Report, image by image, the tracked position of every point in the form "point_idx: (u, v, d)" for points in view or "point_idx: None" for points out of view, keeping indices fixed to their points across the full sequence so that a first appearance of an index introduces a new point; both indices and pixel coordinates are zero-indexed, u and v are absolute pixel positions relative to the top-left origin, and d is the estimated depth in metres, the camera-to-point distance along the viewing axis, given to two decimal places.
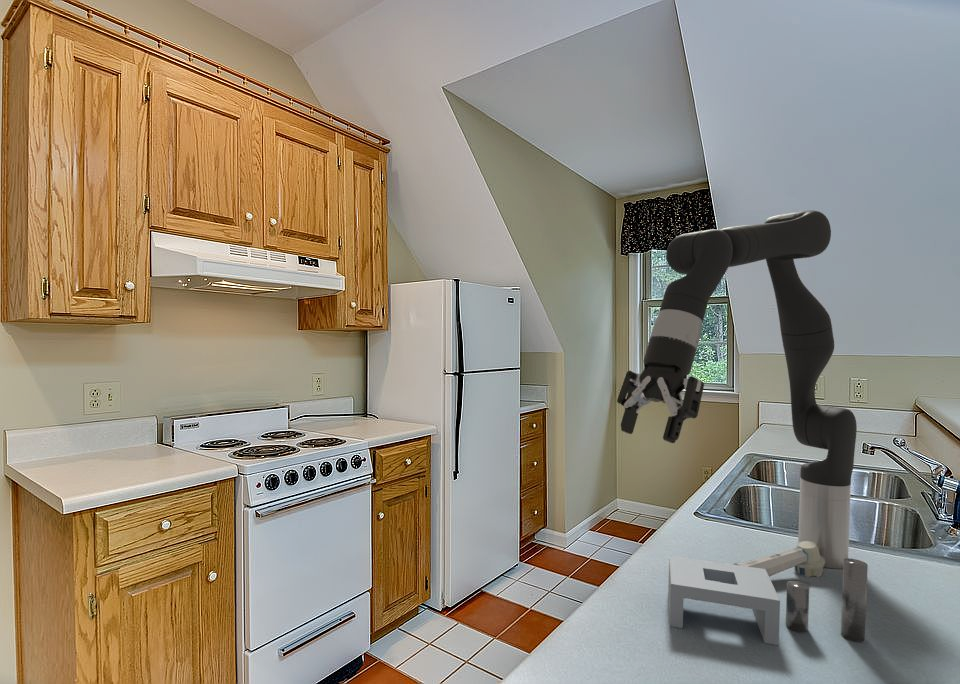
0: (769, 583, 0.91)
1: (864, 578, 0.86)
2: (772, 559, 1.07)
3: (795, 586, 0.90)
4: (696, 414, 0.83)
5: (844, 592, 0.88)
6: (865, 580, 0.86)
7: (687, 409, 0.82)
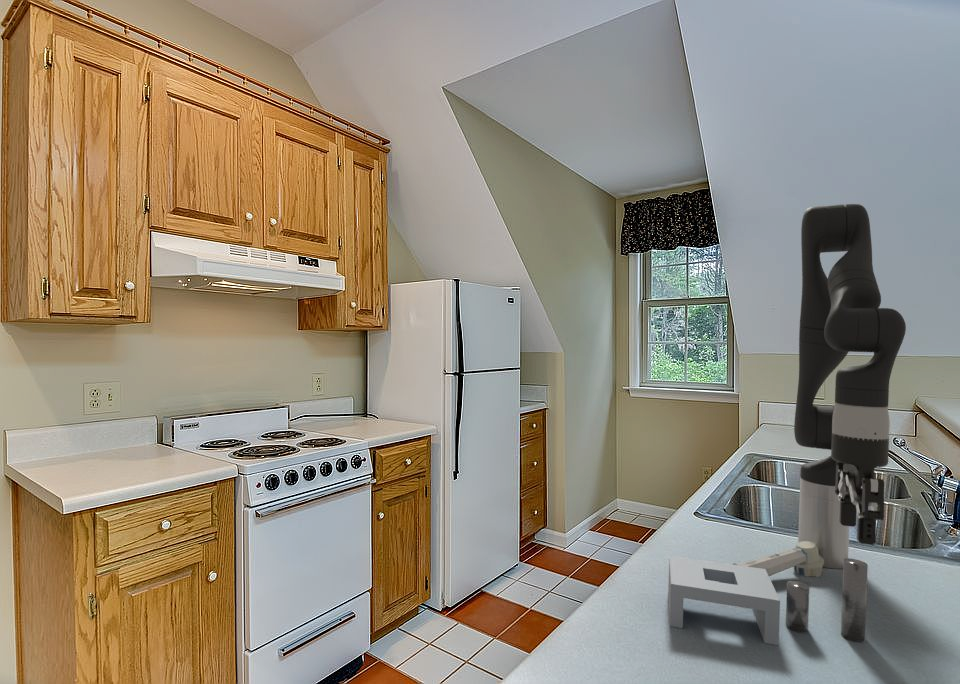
0: (769, 583, 0.91)
1: (864, 578, 0.86)
2: (772, 559, 1.07)
3: (795, 586, 0.90)
4: (881, 516, 0.81)
5: (844, 592, 0.88)
6: (865, 580, 0.86)
7: (864, 513, 0.81)
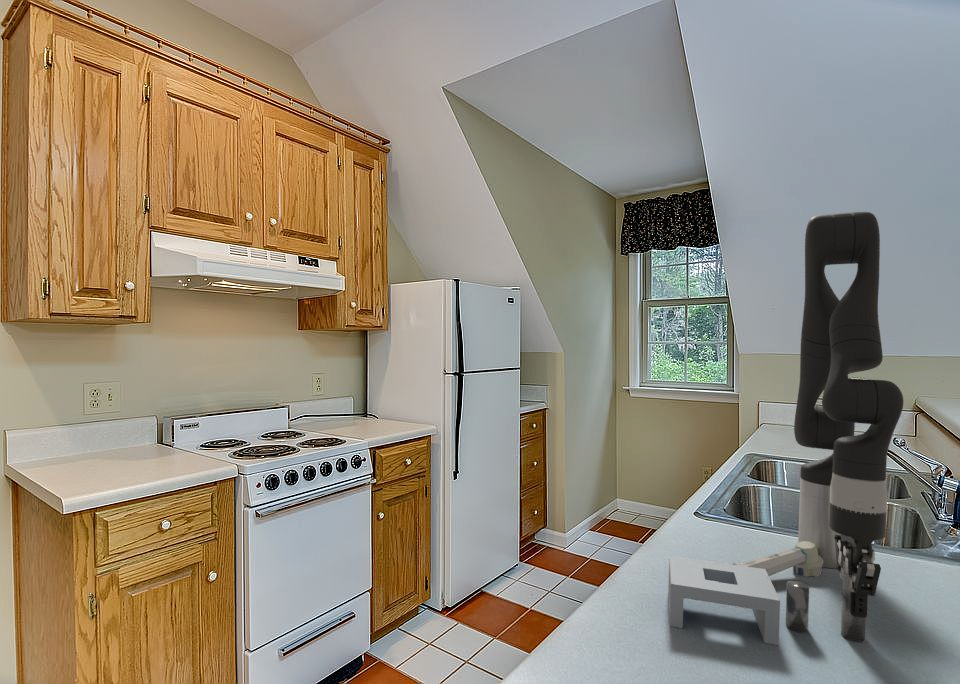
0: (769, 583, 0.91)
1: None
2: (771, 559, 1.07)
3: (795, 586, 0.90)
4: (872, 594, 0.83)
5: (844, 592, 0.88)
6: None
7: (856, 589, 0.84)
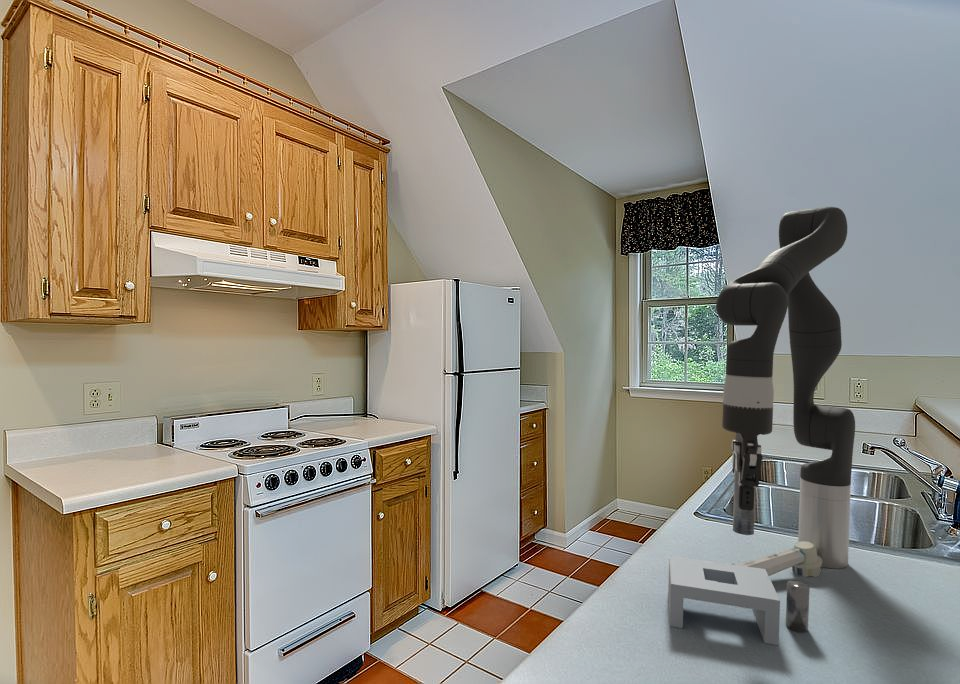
0: (769, 583, 0.91)
1: None
2: (770, 559, 1.07)
3: (795, 586, 0.90)
4: (756, 485, 0.87)
5: (735, 488, 0.91)
6: None
7: (741, 481, 0.87)
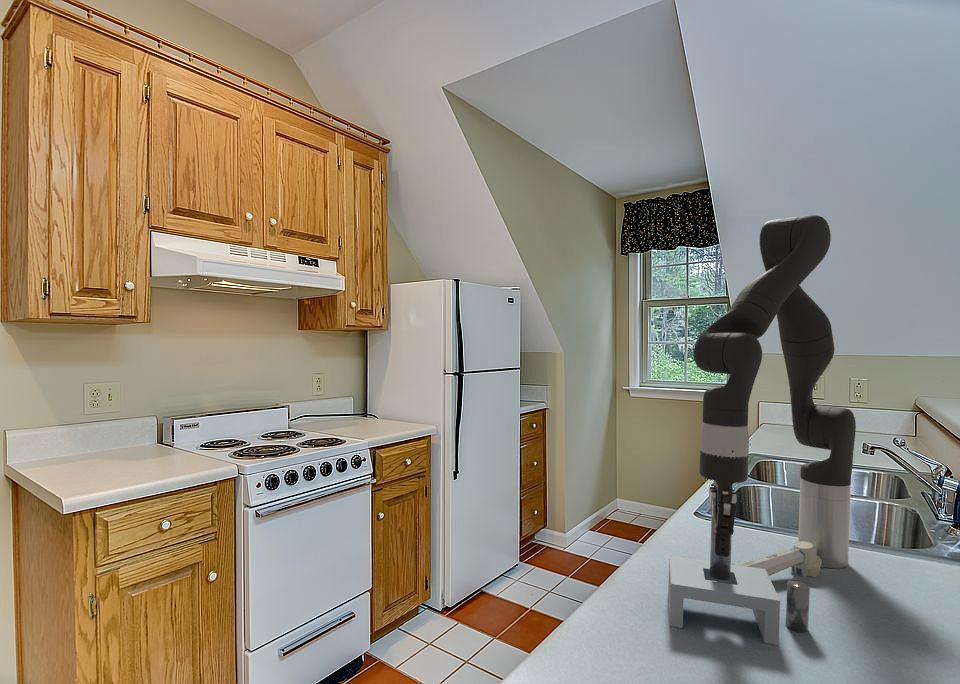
0: (769, 583, 0.91)
1: None
2: (769, 559, 1.07)
3: (795, 586, 0.90)
4: (730, 533, 0.88)
5: (711, 534, 0.93)
6: None
7: (716, 529, 0.89)
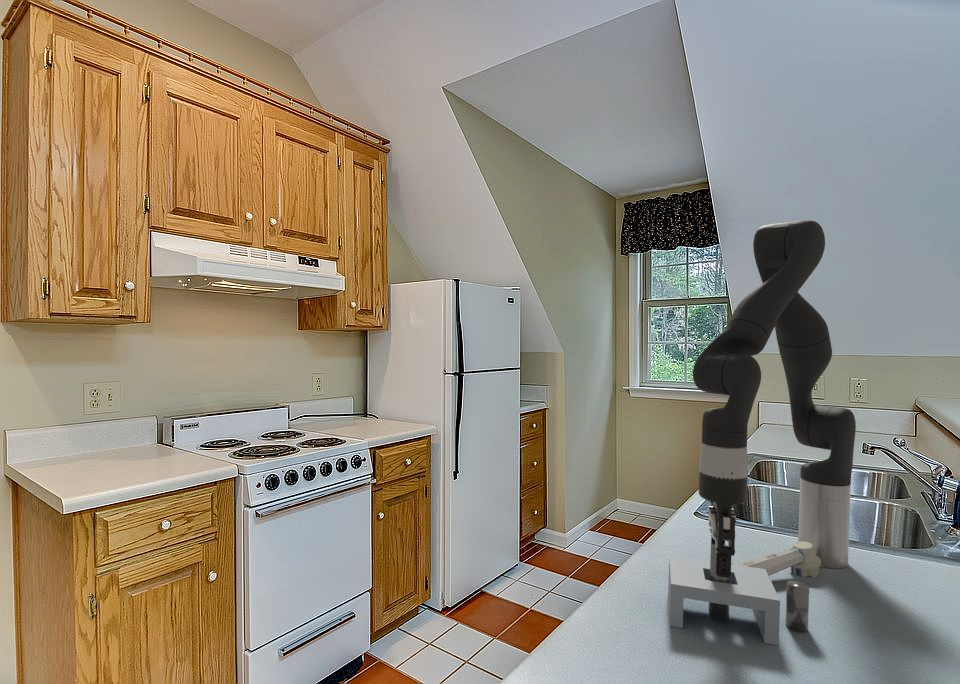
0: (769, 583, 0.91)
1: None
2: (769, 559, 1.07)
3: (795, 586, 0.90)
4: (732, 552, 0.86)
5: (710, 575, 0.93)
6: None
7: (717, 549, 0.87)
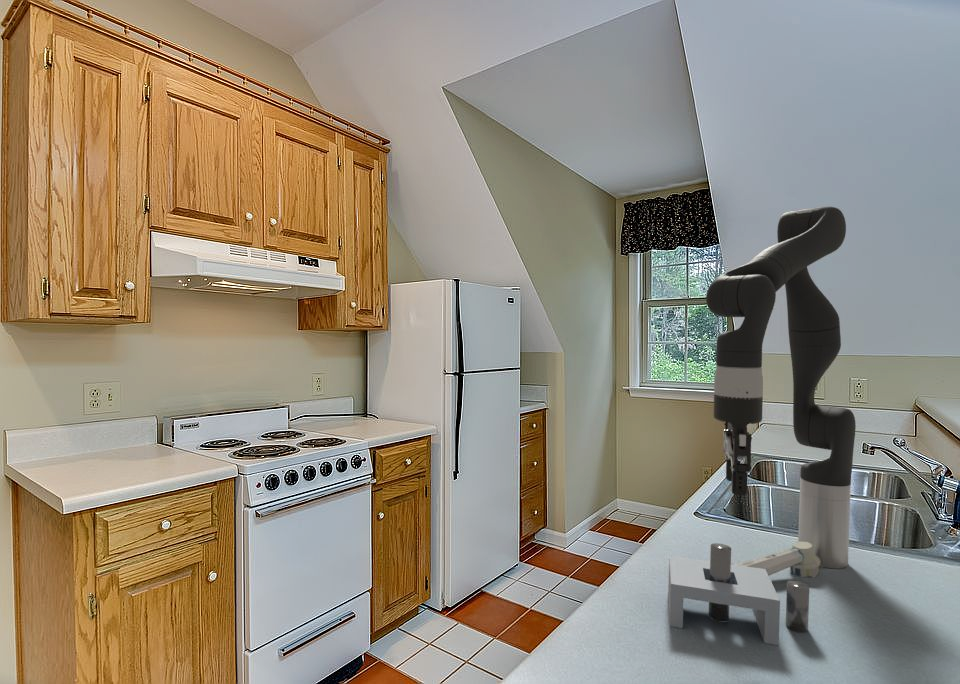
0: (769, 583, 0.91)
1: (727, 561, 0.92)
2: (768, 559, 1.07)
3: (795, 586, 0.90)
4: (748, 468, 0.87)
5: (710, 575, 0.93)
6: (728, 563, 0.92)
7: (733, 466, 0.87)
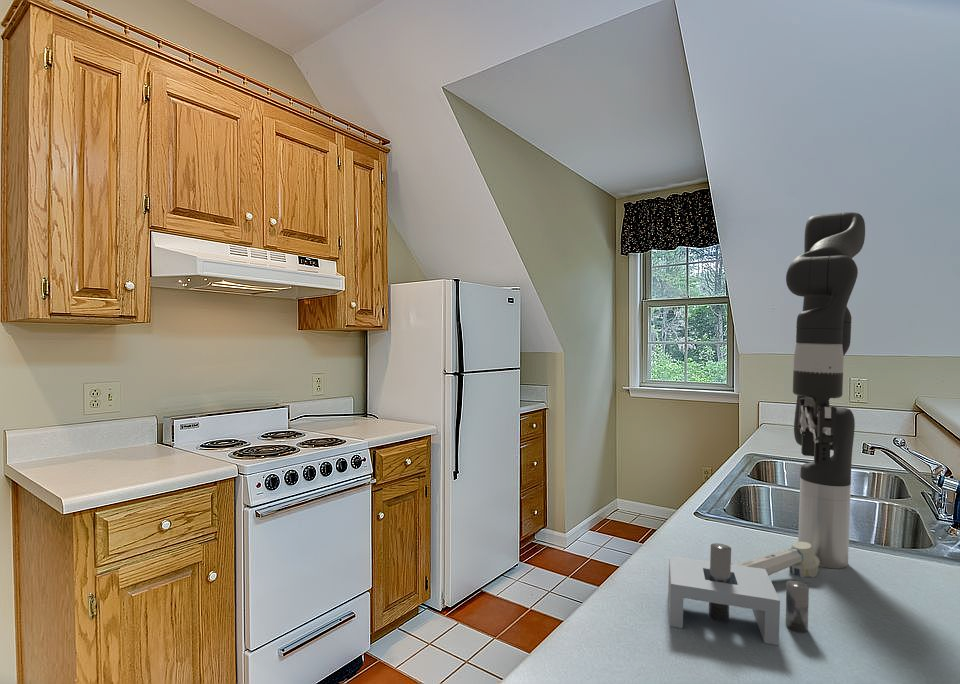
0: (769, 583, 0.91)
1: (727, 561, 0.92)
2: (767, 559, 1.07)
3: (794, 586, 0.90)
4: (833, 439, 0.90)
5: (710, 575, 0.93)
6: (728, 563, 0.92)
7: (819, 437, 0.91)
